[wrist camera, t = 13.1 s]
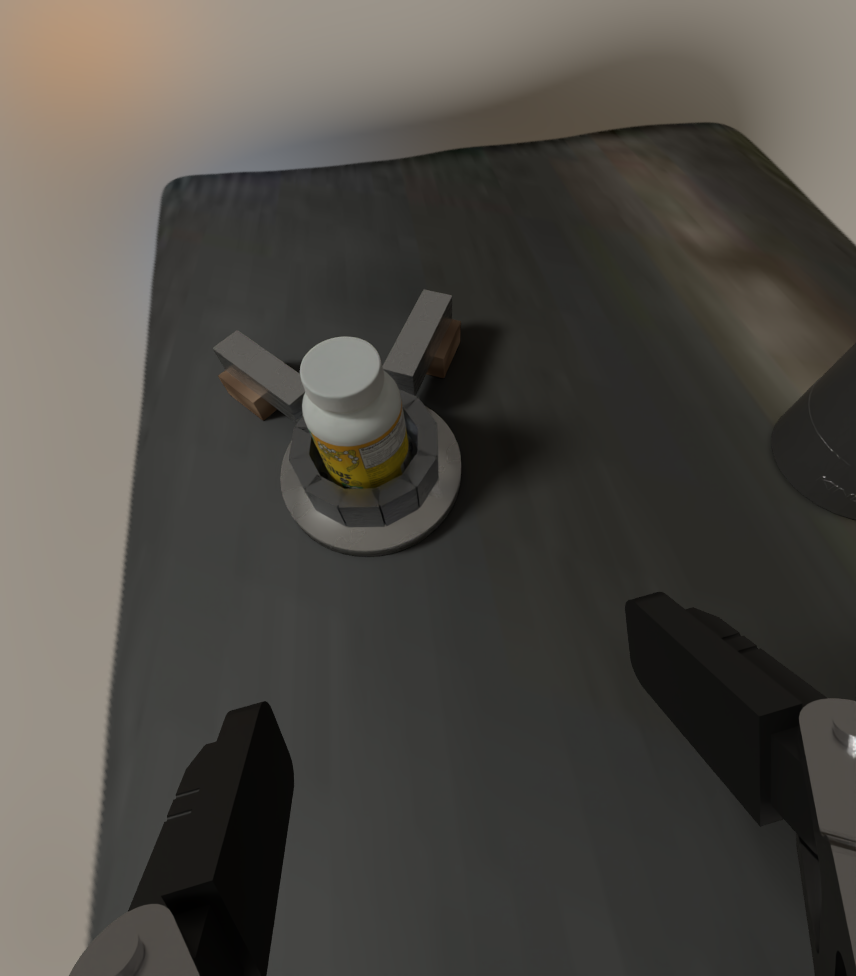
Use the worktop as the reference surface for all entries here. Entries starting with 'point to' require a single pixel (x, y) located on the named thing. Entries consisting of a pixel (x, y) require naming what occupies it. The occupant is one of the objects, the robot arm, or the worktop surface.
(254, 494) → the worktop surface
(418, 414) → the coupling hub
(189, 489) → the worktop surface
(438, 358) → the blocks
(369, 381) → the supplement bottle
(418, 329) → the angled shafts
